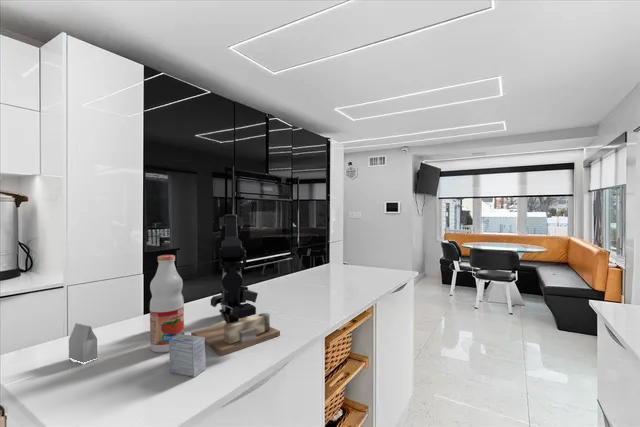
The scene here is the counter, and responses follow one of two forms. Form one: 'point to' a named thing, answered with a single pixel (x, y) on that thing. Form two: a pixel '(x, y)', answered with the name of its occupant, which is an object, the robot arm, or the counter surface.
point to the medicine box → (187, 355)
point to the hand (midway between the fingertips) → (232, 331)
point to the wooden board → (247, 338)
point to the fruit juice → (166, 305)
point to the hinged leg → (246, 327)
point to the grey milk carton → (82, 343)
